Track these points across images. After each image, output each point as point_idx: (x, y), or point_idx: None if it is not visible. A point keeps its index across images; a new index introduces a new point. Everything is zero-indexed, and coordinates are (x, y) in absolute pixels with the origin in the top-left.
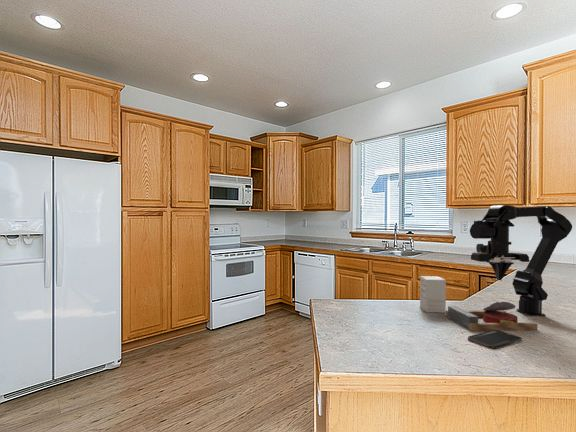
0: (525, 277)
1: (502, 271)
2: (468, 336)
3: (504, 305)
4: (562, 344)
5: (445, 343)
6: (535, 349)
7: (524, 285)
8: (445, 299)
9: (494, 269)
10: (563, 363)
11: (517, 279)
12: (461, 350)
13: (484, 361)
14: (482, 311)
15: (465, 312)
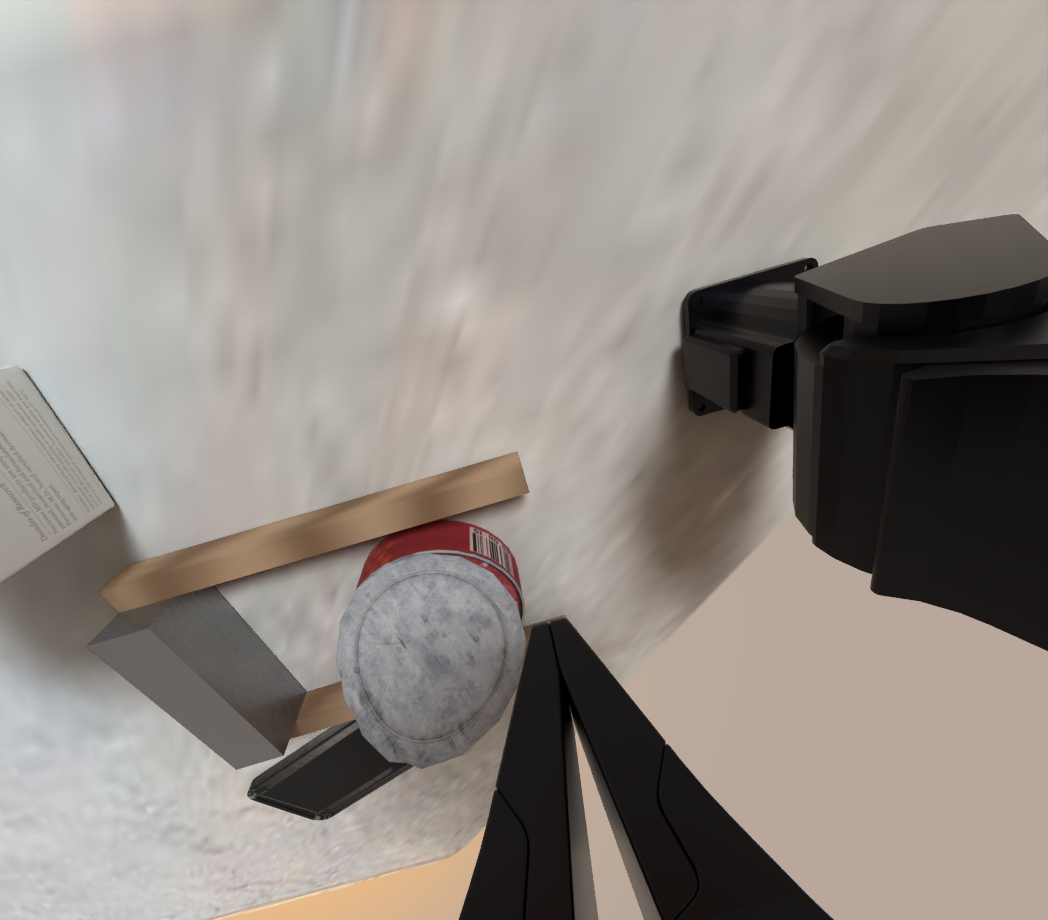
0: (993, 566)
1: (618, 844)
2: (250, 790)
3: (447, 708)
4: None
5: (172, 827)
6: (456, 773)
7: (837, 527)
8: (10, 576)
9: (500, 858)
10: (483, 813)
11: (909, 464)
12: (226, 843)
13: (285, 864)
14: (363, 540)
15: (217, 721)
